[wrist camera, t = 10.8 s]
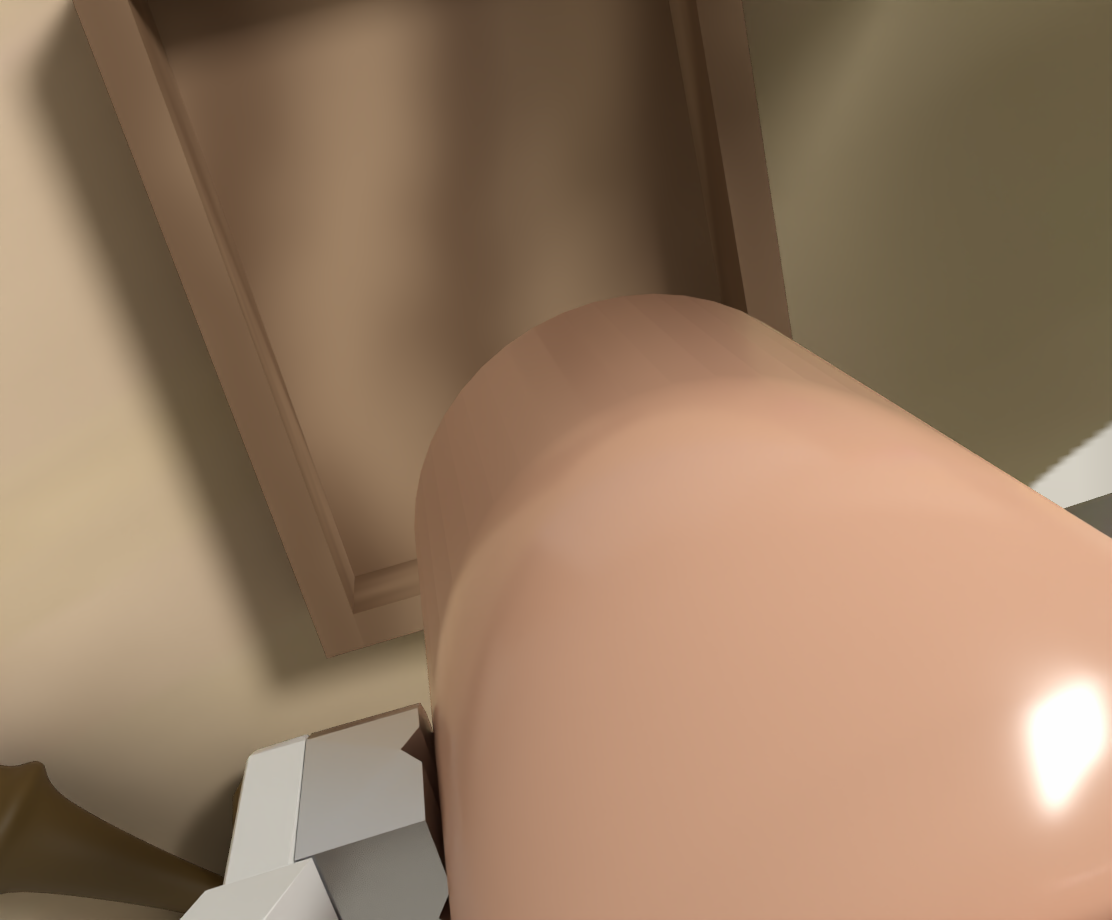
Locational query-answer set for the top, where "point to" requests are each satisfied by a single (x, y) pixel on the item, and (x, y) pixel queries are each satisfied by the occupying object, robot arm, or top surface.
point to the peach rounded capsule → (751, 642)
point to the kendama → (85, 850)
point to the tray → (423, 221)
